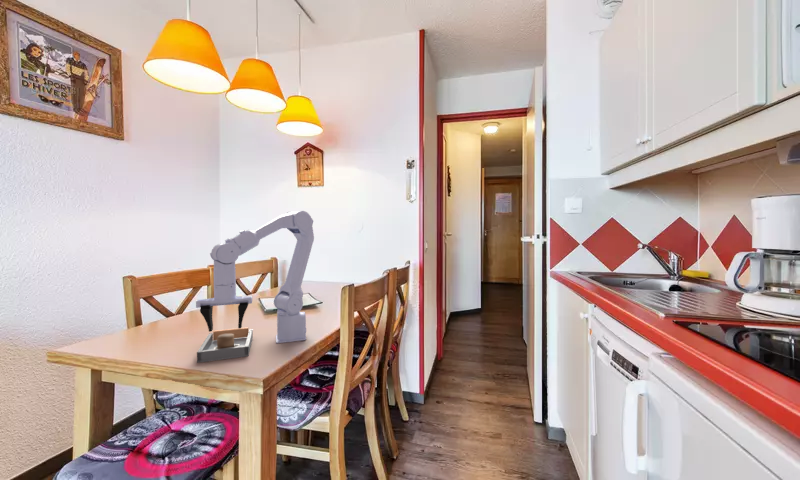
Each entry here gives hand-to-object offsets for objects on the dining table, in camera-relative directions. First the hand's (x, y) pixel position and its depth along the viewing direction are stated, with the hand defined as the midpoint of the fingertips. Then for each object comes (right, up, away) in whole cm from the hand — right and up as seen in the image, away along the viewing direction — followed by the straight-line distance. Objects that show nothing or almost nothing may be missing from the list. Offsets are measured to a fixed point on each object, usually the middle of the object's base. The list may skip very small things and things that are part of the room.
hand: (225, 329), depth 93 cm
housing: (-2, -7, +4) cm, 9 cm away
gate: (-5, -6, +12) cm, 14 cm away
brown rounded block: (0, -7, 0) cm, 7 cm away
